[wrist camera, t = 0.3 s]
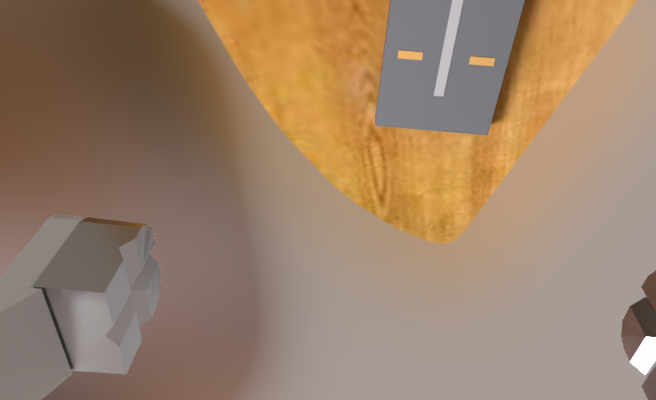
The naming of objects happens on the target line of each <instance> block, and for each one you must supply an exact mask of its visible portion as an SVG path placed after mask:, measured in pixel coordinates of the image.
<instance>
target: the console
mask: <svg viewBox="0 0 656 400" xmlns="http://www.w3.org/2000/svg"><path fill="white" fill-rule="evenodd" d="M524 2H525V0H390V6H389V14H388V21H387V29H386V37H385V45H384V53H383V60H382V68H381V76H380V84H379V92H378V100H377V107H376V115H375V126H385V127H397V128H409V129H420V130H432V131H444V132H456V133H467V134H479V135H488V133H489V129H490V125H491V122H492V118H493V114H494V111H495V107H496V103H497V100H498V96H499V93H500V89H501V85H502V82H503V78H504V74H505V71H506V67H507V64H508V60H509V56H510V53H511V49H512V45H513V42H514V38H515V34H516V31H517V27H518V24H519V20H520V16H521V13H522V9H523V5H524Z"/></svg>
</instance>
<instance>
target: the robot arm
mask: <svg viewBox="0 0 656 400" xmlns="http://www.w3.org/2000/svg"><path fill="white" fill-rule="evenodd" d="M154 245H155V240H154V235H153V231H152V227H150V226H149V225H148V224H143V223H134V222H125V221H116V220H107V219H98V218H90V217H87V218H84V217H75V216H67V215H58V214H57V215H55V216H53V217H50V218H49V219H48V220H47V221H46V222H45V223H44V224H43V226H42V227H41V228H40V229H39V231H38V232H37V233H36V234H35V236H34V237H33V238H32V239H31V240H30V242H29V243H28V244H27V245H26V247H25V248H24V249H23V250H22V252H21V253H20V254H19V256H17V258H16V259H15V260H14V261H13V263H12V264H11V265H10V266H9V268H8V269H7V270H6V271H5V273H4V274H3V275H2V276H1V277H0V400H42V399H43V398H44V397H45V396H47V395H48V394H49V393H50V392H51V391H52V390H54V389H55V388H56V387H57V386H58V385H59V384H61V383H62V382H63V381H64V380H66V379H67V378H68V377H69V376H70V375H71V374H72V371H85V372H100V373H116V374H127V372H128V369H129V367H130V365H131V363H132V361H133V358H134V356H135V354H136V351H137V349H138V347H139V345H140V343H141V340H142V339H141V334H140V330H139V326H141V325H142V324H143V323H145V322H146V321H148V320H149V319H150V318H151V317H152V315H153V312H154V310H155V307H156V305H157V301H158V296H159V292H160V268H159V263H158V262H157V261H156V260H155V259H154V258H153V257H152V256H151V255H150V253H151V250H152V249H153V247H154ZM641 288H642V291H643V293H644V296H645V298H643V299H641V300H639V301H638V302H636V303H634V304H633V305H631V306H630V307H629V309H628V311H627V313H626V314H625V316H624V319H623V321H622V332H621V338H622V343H623V348H624V351H625V353H626V355H627V357H628V359H629V361H630V363H631V364H633V365H634V366H635V367H636V368H637V369H639V370H640V371H641V372H642V373H643V374H645V377H644V380H643V383H642V386H641V387H642V389H643V391H644V393H645V395H646V397H647V399H648V400H656V271H654V272H653V273H651V274H650V275H648V277H647V278H646V280H645V281H644V283H643V285H642V286H641Z"/></svg>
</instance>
